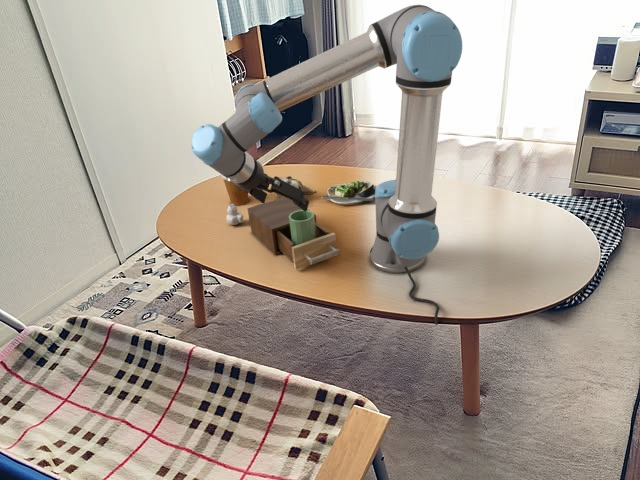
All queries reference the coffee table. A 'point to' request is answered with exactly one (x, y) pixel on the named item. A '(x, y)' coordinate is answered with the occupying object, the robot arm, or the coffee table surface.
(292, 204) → the cabinet
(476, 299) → the coffee table surface
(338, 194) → the avocado toast plate
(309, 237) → the pot
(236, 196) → the disposable coffee cup
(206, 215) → the coffee table surface
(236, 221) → the white animal figurine
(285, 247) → the drawer
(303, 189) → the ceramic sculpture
